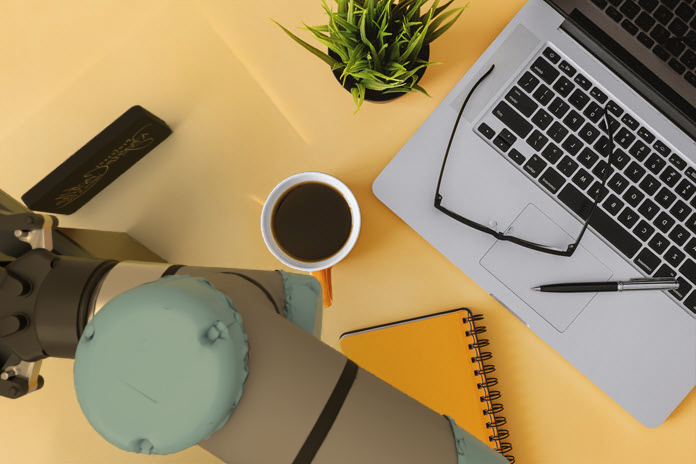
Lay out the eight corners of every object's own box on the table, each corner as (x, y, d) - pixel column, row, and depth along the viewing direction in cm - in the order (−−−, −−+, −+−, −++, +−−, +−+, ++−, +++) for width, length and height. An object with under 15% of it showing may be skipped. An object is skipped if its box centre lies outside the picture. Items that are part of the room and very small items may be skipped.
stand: (138, 313, 75) (15, 345, 49) (92, 280, 75) (-55, 294, 49) (171, 264, 75) (65, 270, 49) (125, 232, 75) (-5, 221, 49)
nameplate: (167, 122, 76) (136, 102, 66) (174, 132, 76) (144, 113, 66) (63, 206, 76) (17, 199, 66) (70, 215, 76) (25, 209, 66)
